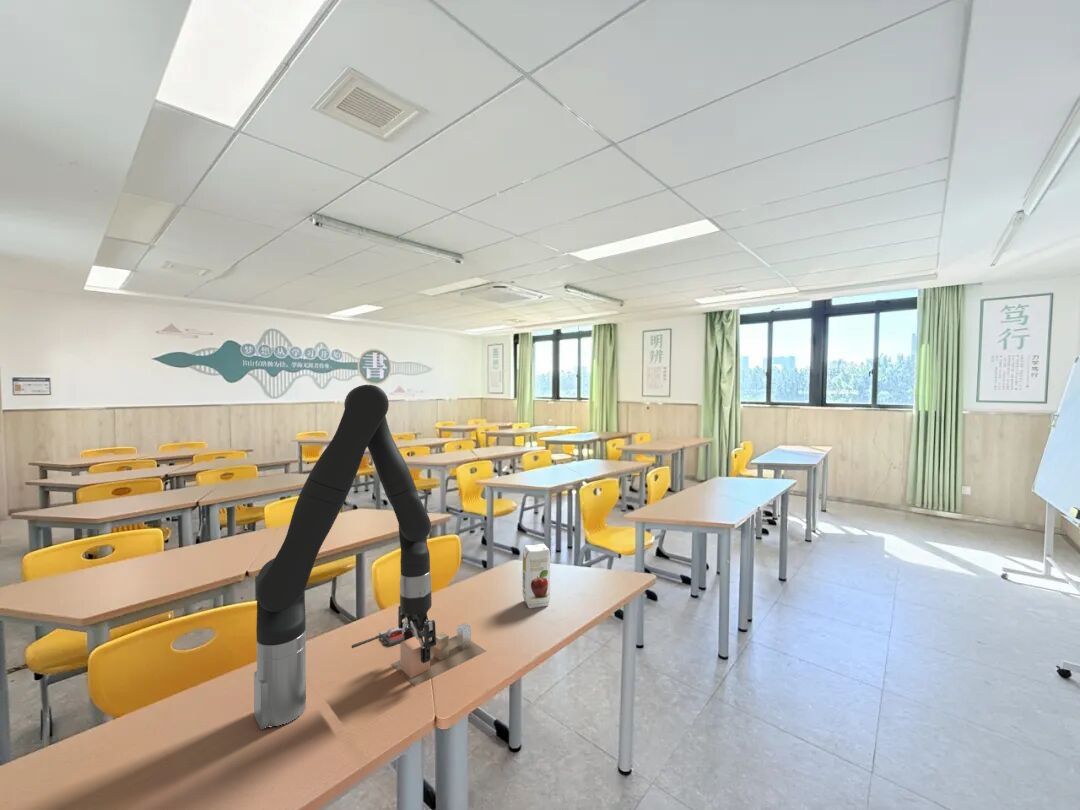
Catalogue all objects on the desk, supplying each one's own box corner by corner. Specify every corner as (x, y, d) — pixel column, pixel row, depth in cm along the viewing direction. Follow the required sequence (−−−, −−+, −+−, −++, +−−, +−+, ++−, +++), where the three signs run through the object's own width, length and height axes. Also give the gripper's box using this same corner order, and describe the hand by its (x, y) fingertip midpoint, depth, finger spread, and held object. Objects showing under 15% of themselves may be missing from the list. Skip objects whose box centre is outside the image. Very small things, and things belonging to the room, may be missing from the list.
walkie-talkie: (418, 626, 135) (350, 650, 122) (418, 611, 135) (350, 634, 122) (432, 638, 128) (361, 664, 115) (432, 622, 128) (361, 648, 115)
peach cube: (410, 678, 107) (410, 650, 107) (400, 668, 111) (400, 642, 111) (430, 669, 111) (430, 642, 111) (419, 660, 114) (419, 634, 114)
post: (462, 650, 119) (462, 629, 119) (457, 646, 121) (457, 626, 121) (470, 646, 121) (470, 626, 121) (465, 642, 123) (465, 622, 123)
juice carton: (520, 600, 152) (521, 544, 152) (544, 596, 155) (545, 542, 154) (526, 610, 145) (527, 551, 144) (552, 606, 147) (552, 549, 147)
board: (414, 692, 104) (414, 663, 104) (390, 670, 112) (390, 642, 112) (486, 656, 119) (486, 630, 119) (460, 639, 127) (460, 614, 127)
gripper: (388, 585, 113) (389, 649, 113) (416, 604, 103) (417, 673, 103) (415, 577, 118) (416, 637, 119) (444, 593, 108) (445, 659, 108)
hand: (416, 654), depth 111 cm, fingers open, 8 cm apart
